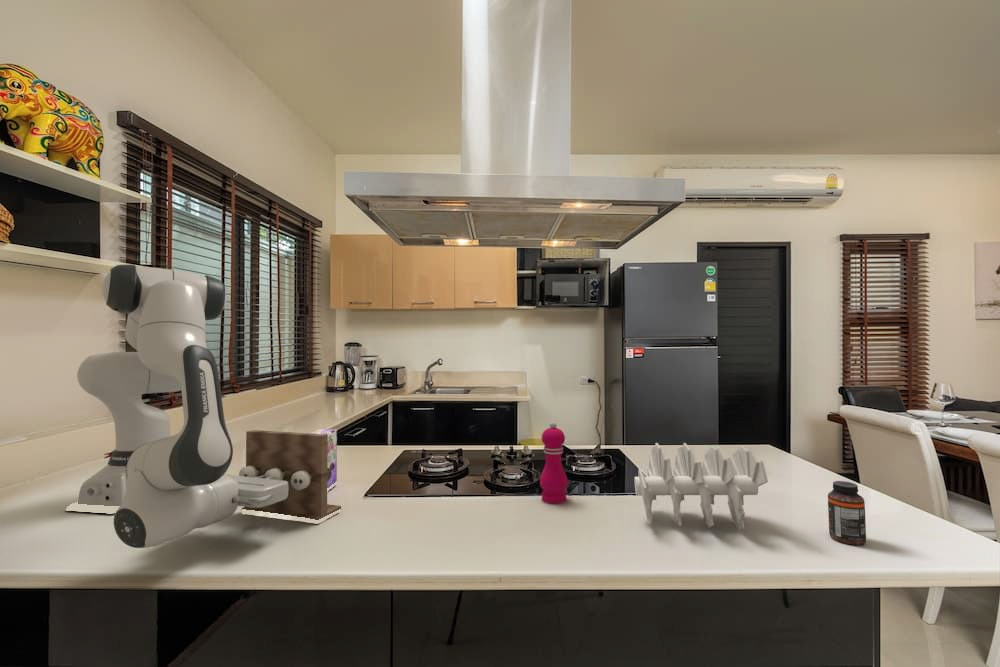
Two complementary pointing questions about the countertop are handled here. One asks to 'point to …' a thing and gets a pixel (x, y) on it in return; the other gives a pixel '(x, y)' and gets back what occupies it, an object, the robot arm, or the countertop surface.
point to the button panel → (293, 469)
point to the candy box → (330, 454)
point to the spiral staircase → (702, 480)
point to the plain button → (276, 473)
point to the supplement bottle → (846, 514)
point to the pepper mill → (553, 466)
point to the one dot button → (249, 471)
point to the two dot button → (301, 480)
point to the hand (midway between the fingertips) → (270, 479)
